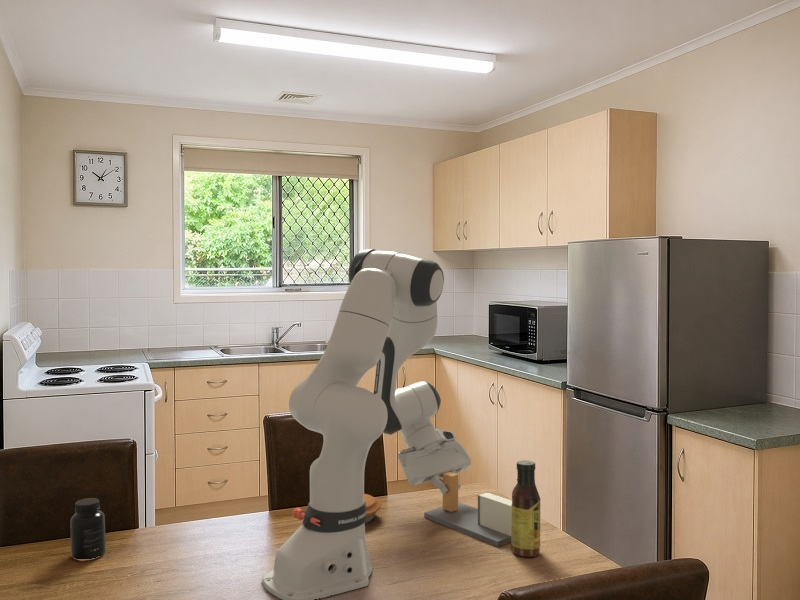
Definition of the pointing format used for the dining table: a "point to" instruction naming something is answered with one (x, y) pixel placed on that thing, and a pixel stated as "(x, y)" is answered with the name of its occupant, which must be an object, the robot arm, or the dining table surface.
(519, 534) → the sauce bottle
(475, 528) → the grey base plate
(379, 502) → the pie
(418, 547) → the dining table surface
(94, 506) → the supplement bottle
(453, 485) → the tan wooden beam
